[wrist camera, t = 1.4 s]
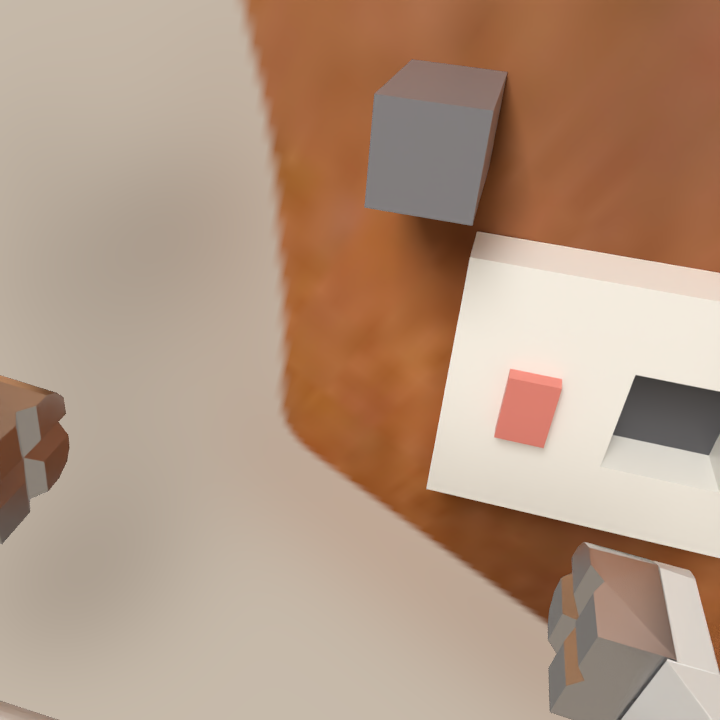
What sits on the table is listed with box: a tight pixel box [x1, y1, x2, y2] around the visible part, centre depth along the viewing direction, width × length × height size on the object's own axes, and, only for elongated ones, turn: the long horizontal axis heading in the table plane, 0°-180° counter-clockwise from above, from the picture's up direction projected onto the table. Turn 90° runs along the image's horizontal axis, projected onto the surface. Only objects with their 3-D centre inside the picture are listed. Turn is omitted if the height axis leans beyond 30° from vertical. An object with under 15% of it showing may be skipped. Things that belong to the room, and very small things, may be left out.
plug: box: [365, 59, 507, 226], centre depth 26 cm, size 4×4×7 cm
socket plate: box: [426, 231, 720, 558], centre depth 32 cm, size 16×14×4 cm
